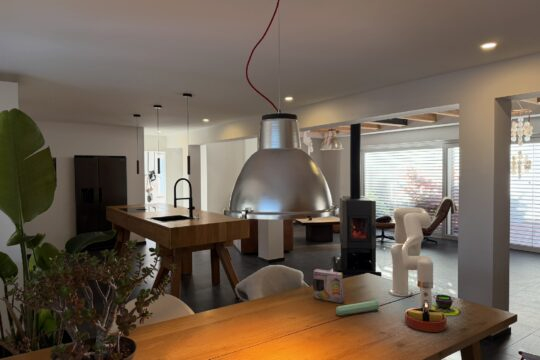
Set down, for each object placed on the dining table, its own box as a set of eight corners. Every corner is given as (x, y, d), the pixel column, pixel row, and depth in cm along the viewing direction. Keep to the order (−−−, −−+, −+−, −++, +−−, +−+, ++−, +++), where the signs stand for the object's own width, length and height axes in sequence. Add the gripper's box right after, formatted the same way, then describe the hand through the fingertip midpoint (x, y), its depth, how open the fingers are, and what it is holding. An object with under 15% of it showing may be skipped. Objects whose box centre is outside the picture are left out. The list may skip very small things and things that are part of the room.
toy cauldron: (464, 312, 206) (464, 292, 206) (446, 317, 200) (446, 296, 199) (441, 303, 220) (441, 285, 219) (423, 308, 213) (423, 289, 213)
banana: (408, 315, 196) (408, 309, 196) (442, 318, 191) (442, 312, 191) (408, 318, 191) (408, 312, 191) (443, 322, 186) (443, 316, 186)
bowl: (404, 315, 203) (404, 306, 203) (444, 319, 197) (444, 310, 196) (405, 330, 185) (405, 320, 184) (448, 335, 178) (448, 324, 178)
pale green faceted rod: (337, 305, 202) (377, 299, 210) (333, 306, 207) (372, 300, 215) (340, 317, 200) (380, 310, 208) (335, 317, 205) (374, 310, 213)
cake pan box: (312, 297, 233) (312, 269, 233) (316, 295, 237) (316, 268, 237) (340, 304, 221) (340, 274, 221) (344, 301, 225) (343, 272, 225)
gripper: (434, 289, 181) (434, 325, 181) (431, 279, 197) (431, 312, 197) (418, 288, 183) (418, 323, 184) (416, 278, 199) (416, 310, 200)
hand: (425, 317), depth 190 cm, fingers open, 9 cm apart
